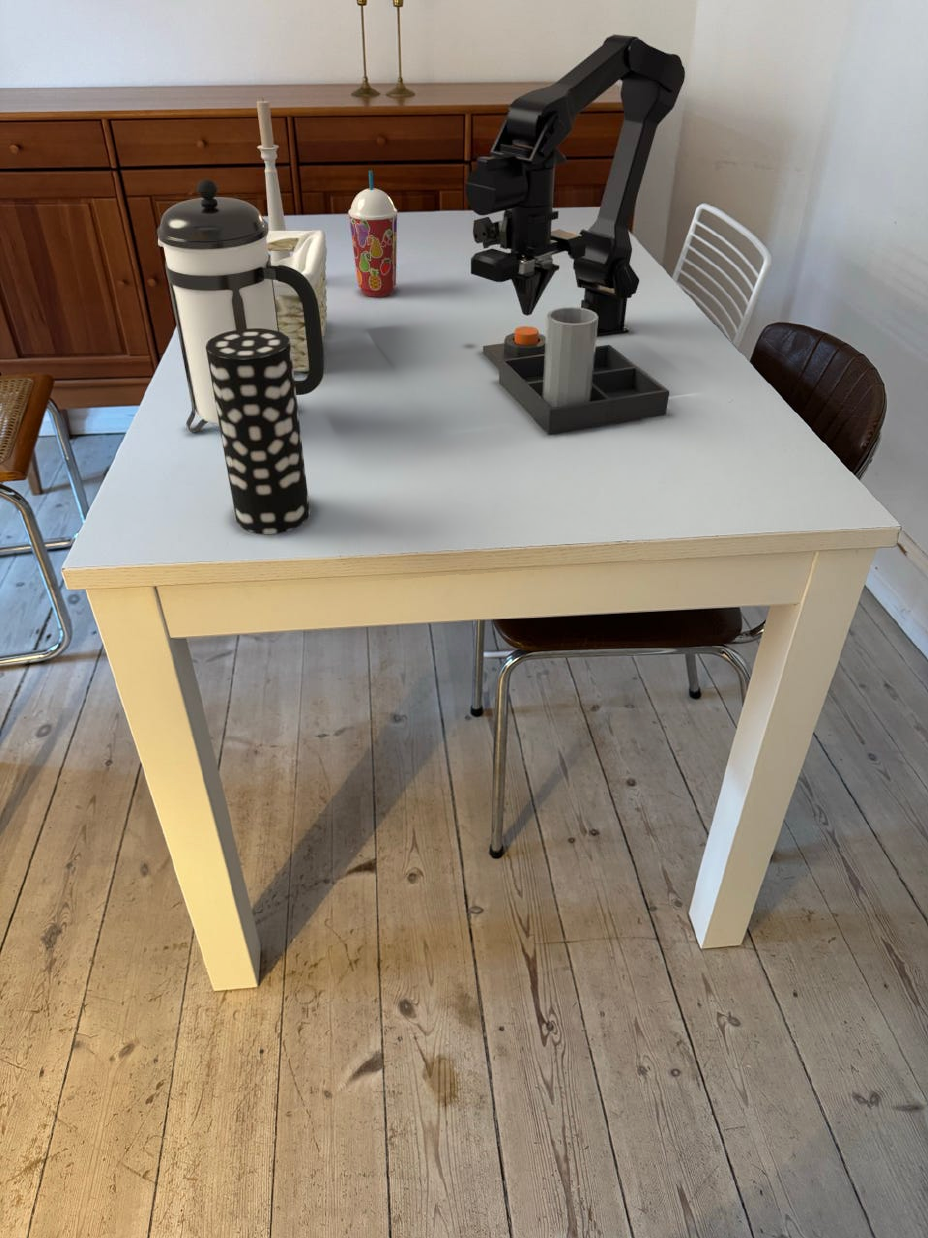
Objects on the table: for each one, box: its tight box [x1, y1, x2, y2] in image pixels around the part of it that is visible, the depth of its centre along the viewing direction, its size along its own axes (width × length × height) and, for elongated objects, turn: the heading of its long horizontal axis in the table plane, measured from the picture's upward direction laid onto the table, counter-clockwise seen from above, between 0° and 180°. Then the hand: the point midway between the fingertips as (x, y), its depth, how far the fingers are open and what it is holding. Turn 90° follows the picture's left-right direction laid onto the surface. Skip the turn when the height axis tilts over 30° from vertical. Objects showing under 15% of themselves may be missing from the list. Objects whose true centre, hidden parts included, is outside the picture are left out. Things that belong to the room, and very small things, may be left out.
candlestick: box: [256, 98, 292, 263], centre depth 159 cm, size 13×13×30 cm
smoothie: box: [348, 170, 398, 298], centre depth 158 cm, size 8×8×20 cm
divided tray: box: [498, 344, 670, 435], centre depth 128 cm, size 18×18×4 cm
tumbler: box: [542, 306, 598, 408], centre depth 120 cm, size 6×6×13 cm
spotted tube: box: [206, 328, 311, 535], centre depth 98 cm, size 8×8×20 cm
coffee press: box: [156, 178, 325, 434], centre depth 114 cm, size 17×16×30 cm
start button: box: [514, 325, 540, 345], centre depth 138 cm, size 4×4×2 cm
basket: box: [267, 229, 328, 372], centre depth 139 cm, size 24×16×15 cm
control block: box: [482, 332, 546, 370], centre depth 139 cm, size 11×8×3 cm
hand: (527, 314), depth 136 cm, fingers closed
